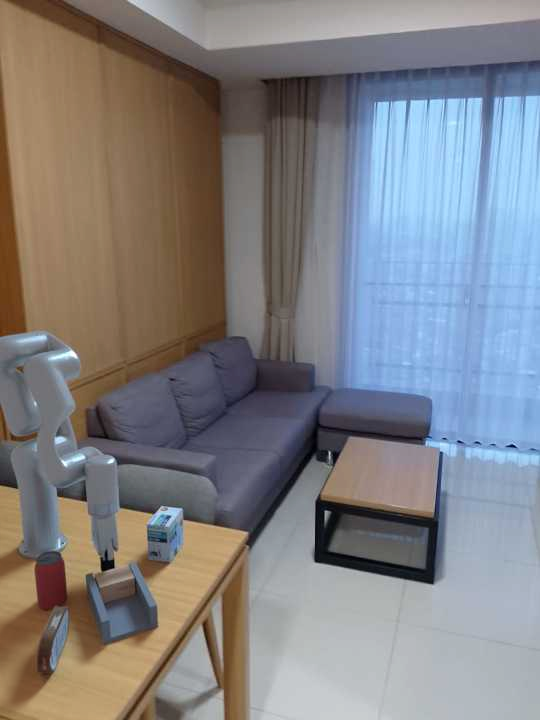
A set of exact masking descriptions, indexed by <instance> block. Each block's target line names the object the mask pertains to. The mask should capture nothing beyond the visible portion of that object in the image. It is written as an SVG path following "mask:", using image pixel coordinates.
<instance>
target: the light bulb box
mask: <svg viewBox="0 0 540 720" xmlns="http://www.w3.org/2000/svg"><path fill="white" fill-rule="evenodd" d="M184 531H185V530H184V509H183V508H181V507H180V508H178V507H172V506H171V507H170V506H163V505H162V506H161V505H160V508H158V510H156V512H155V513H154V514H153V516H152V517H150V520H149V521H147V523H146V535H147V536H146V537H147V538H146V539H147V559H148V561H155V562H162V563H163V562H164V563H172V561H173V560H174V559H175V557H176V556H177V554H178V553H179V551H180V550H181V549H182V547H183V545H184V544H185V539H184V538H185V537H184V533H185V532H184Z"/></svg>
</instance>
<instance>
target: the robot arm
mask: <svg viewBox="0 0 540 720" xmlns="http://www.w3.org/2000/svg"><path fill="white" fill-rule="evenodd" d="M18 367H22V371H23V372H21V370H19V369H17V368H18ZM81 373H82V363H81V359H80V357H79V356H78V354H77V353H76V352H75V351H74V350H73V349H72V347H70V346H69V345H67V344H66V343H65V342H64V341H62V340H60V339H59V338H57V337H56V336H55V335H53V334H51V333H50V332H47V331H44V330H36V331H30V332H29V331H28V332H23V333H22V332H21V333H17V334H16V333H15V334H10V335H9V334H7V335H5V336H0V406H1V408H2V413H3V416H4V419H5V422H6V426H7V428H8V430H9V431H10V433H11V434H12V435H13V436H15V437H25V436H30V435H32V434H36V433H37V437H34V438H31V439H28V440H25V441H23V442H21V443H19V444H18V445H16V446H15V447H14V448H13V449H12V451H11V455H10V462H11V466H12V468H13V472H14V475H15V478H16V484H17V488H18V490H17V491H18V498H19V506H20V508H19V509H20V516H21V524H22V525H21V526H22V537H23V540H22V541H21V542H20V543H19V544H18V553H19V555H20V556H22V557H24V558H27V559H35V560H36V558H37V557H38V556H39V555H41V554H42V553H45V552H48V551H57V552H59V553H60V552H61V551H62V550H63V549H64V548H65V547H66V546H67V543H68V538H67V536H66V534H64V533H63V532H61V526H60V514H59V504H58V503H59V501H58V493H57V492H58V491H57V489H65V488H68V487H70V486H72V485H75V484H77V483H79V482H81V481H85V490H86V491H85V492H86V505H87V514H88V516H89V517H90V524H91V525H90V526H91V528H90V529H91V530H90V531H91V542H92V544H93V547H94V549H95V551H96V555H98V556H99V560H100V572H103V571H107V570H111V569H114V568H116V563H115V552H118V551H119V535H118V525H117V522H118V521H117V514H118V512H119V511H120V508H121V507H120V496H119V479H118V477H119V476H118V463H117V459H116V458H115V457H114V456H112V455H109V454H104V453H103V451H102V452H101V451H100V450H99V449H97V448H96V447H94V446H84V447H82V448H78V443H77V440H76V439H77V438H76V435H75V432H74V429H73V426H72V422H71V419H70V415H71V414H72V413H74V412H75V410H76V407H77V406H76V403H75V400H74V398H73V395H72V393H71V391H70V388H69V386H68V383H67V381H70V380H74V379H77V378H78V377H79V376H80V374H81Z"/></svg>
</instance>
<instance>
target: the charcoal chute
mask: <svg viewBox="0 0 540 720" xmlns="http://www.w3.org/2000/svg"><path fill="white" fill-rule="evenodd" d="M128 565H129V567H130V569H131V571H132V573H133V575H134V578H135V595H132V596H128V597H125V598H121V599H118V600H115V601H111V602H108V603H103V601H102V598H101V595H100V592H99V590H98V587H97V584H96V581H95V575H94V574H93V572H89V573H86V574H85V582H86V583H85V584H86V585H85V587H86V596H87V599H88V601H89V605H90V607H91V611H92V614H93V617H94V620H95V623H96V627H97V629H98V632H99V635H100V638H101V641H102V644H103V645H106V644H110V643H112V642H116V641H119V640H121V639H125V638H128V637H130V636H133V635H136V634H140V633H143V632H147V631H149V630H152V629H156V628H158V627H159V619H158V604H157V602H156V600H155V598H154V596H153V594H152V593H151V590H150V588H149V586H148V584H147V582H146V580H145V578H144V576H143V574H142V572H141V571H140V569H139V566H138V564H137V562H136V561H131V562H129V563H128Z"/></svg>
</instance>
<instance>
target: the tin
mask: <svg viewBox="0 0 540 720" xmlns="http://www.w3.org/2000/svg"><path fill="white" fill-rule="evenodd" d="M69 612H70V608H69V607H68V606H66V605H65V606H63V605H62V606H55V607H54V609H52V610H51V613H50V615H49V618H48V619H47V622H46V625H45V626H44V629H43V630H42V634H41V637H40V640H39V644H38V647H37V648H38V649H37V657H36V669H37V673H38V674H51V673H53V672H54V671H55V670H56V668H57V665H58V663H59V660H60V658H61V655H62V652H63V650H64V647H65V644H66V642H67V637H68V634H69V628H70V619H69V618H70V613H69Z"/></svg>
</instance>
